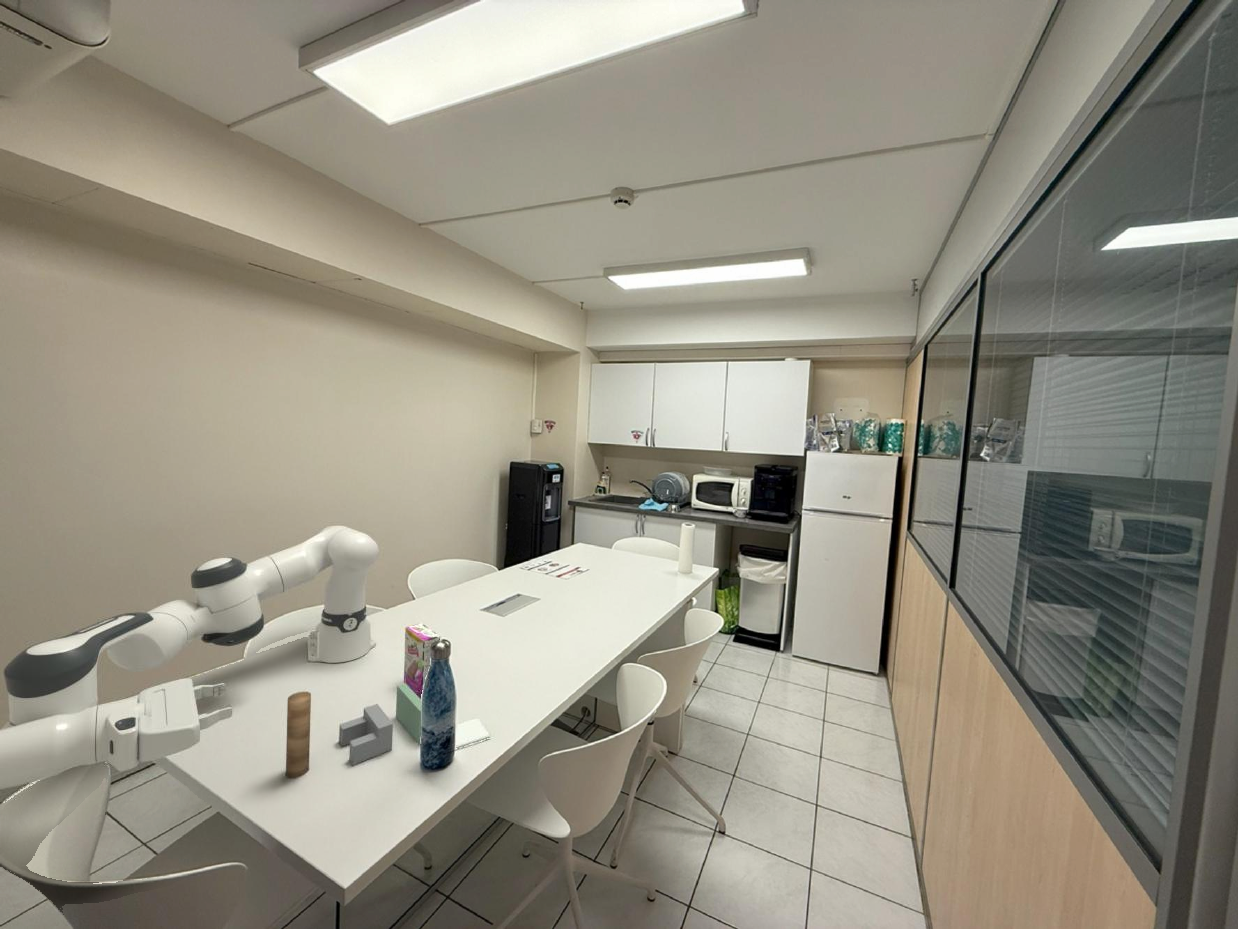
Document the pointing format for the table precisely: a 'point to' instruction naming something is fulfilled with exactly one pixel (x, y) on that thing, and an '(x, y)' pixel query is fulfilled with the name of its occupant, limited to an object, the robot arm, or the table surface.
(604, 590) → the table surface
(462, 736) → the external hard drive
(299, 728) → the dowel
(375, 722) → the block
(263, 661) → the table surface
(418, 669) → the candy bar box
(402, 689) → the wall
